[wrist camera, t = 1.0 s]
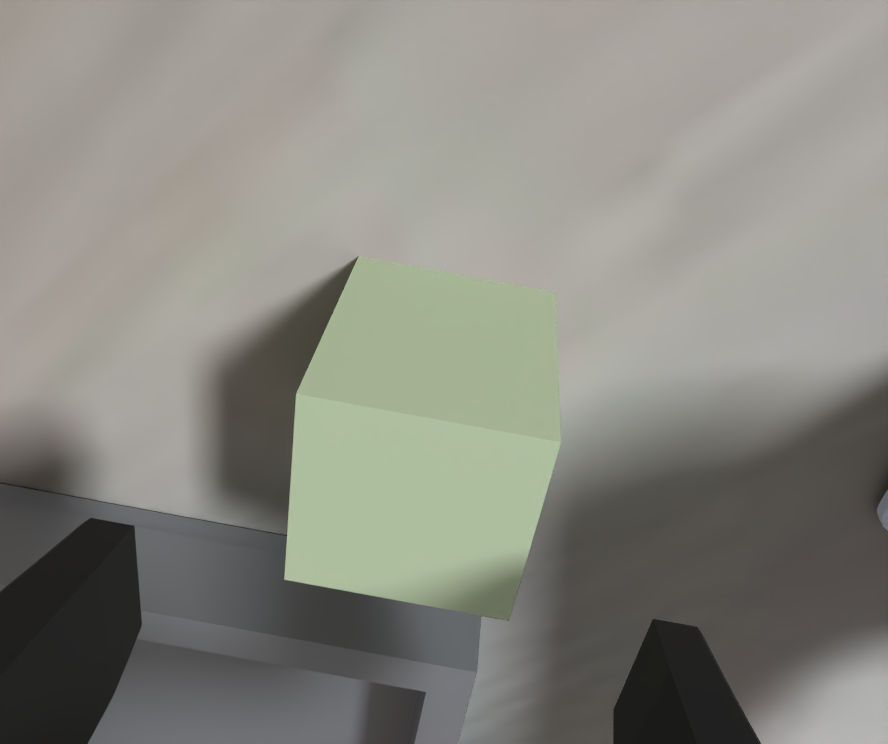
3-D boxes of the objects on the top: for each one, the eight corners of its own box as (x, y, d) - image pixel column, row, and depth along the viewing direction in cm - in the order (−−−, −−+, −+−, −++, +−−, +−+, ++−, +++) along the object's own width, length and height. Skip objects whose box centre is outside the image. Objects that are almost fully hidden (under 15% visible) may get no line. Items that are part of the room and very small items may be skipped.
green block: (555, 291, 16) (560, 442, 12) (515, 447, 18) (509, 620, 14) (359, 255, 16) (295, 393, 12) (342, 415, 18) (284, 579, 14)
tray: (484, 572, 21) (476, 672, 18) (413, 853, 28) (400, 951, 26) (-61, 472, 21) (-145, 558, 18) (14, 780, 28) (-38, 871, 26)
